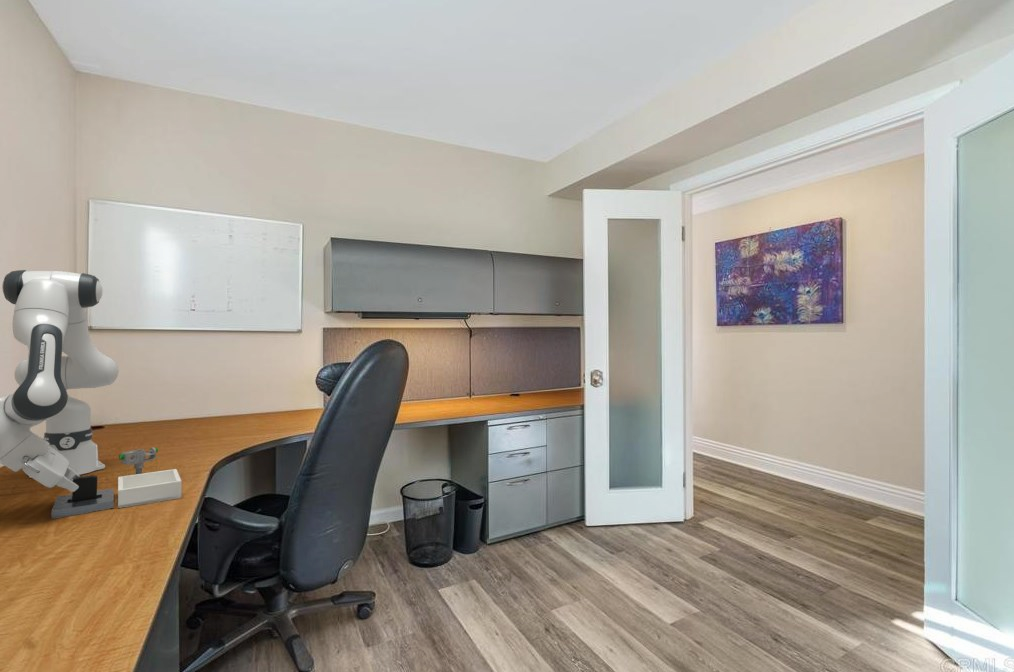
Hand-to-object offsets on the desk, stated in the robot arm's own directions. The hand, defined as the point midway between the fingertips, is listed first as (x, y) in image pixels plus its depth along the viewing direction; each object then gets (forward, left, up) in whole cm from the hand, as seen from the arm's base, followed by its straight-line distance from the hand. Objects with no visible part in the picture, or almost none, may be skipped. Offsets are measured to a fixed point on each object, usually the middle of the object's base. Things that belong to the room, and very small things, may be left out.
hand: (77, 484), depth 130 cm
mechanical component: (-18, +13, -6) cm, 23 cm away
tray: (0, +15, -6) cm, 17 cm away
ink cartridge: (0, +1, -6) cm, 6 cm away
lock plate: (0, +1, -6) cm, 6 cm away
